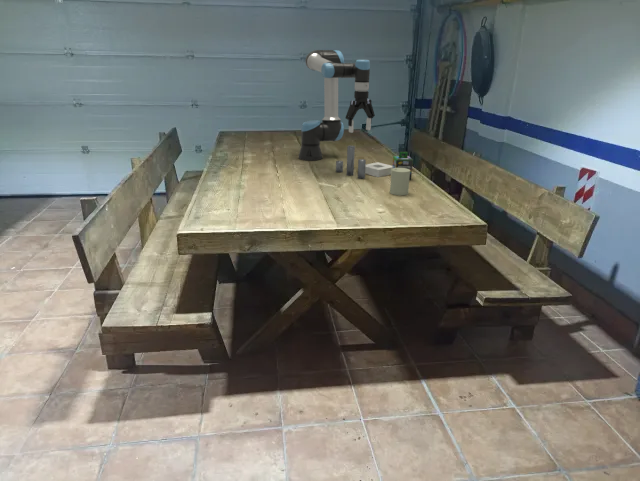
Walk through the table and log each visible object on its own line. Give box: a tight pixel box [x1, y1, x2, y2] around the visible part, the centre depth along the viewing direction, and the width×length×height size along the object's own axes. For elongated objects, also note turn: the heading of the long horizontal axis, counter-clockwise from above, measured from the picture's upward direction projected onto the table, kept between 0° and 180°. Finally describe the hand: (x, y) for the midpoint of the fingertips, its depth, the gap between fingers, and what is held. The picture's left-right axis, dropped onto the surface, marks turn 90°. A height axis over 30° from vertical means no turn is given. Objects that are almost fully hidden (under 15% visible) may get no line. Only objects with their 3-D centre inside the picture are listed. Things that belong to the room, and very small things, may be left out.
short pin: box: [335, 160, 344, 174], centre depth 276 cm, size 4×4×6 cm
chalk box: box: [392, 151, 414, 181], centre depth 263 cm, size 9×9×15 cm
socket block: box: [365, 161, 393, 178], centre depth 276 cm, size 14×14×4 cm
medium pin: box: [357, 158, 367, 180], centre depth 263 cm, size 4×4×10 cm
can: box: [389, 168, 410, 196], centre depth 237 cm, size 9×9×12 cm
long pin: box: [346, 145, 356, 177], centre depth 268 cm, size 4×4×16 cm
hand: (359, 131), depth 265 cm, fingers open, 13 cm apart
